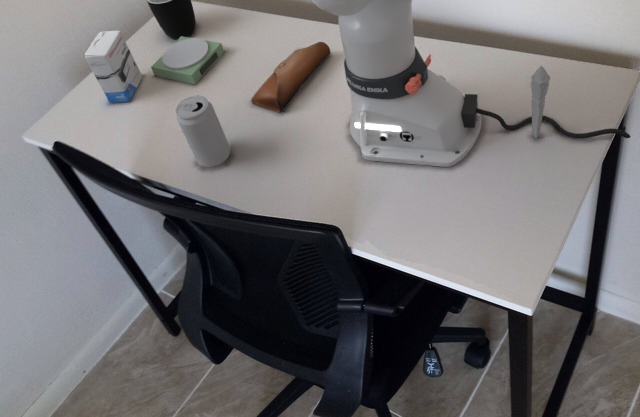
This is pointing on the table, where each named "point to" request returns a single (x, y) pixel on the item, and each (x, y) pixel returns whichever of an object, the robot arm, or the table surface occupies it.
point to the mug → (174, 17)
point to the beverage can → (202, 131)
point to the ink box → (113, 66)
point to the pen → (538, 98)
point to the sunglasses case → (290, 77)
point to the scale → (187, 59)
